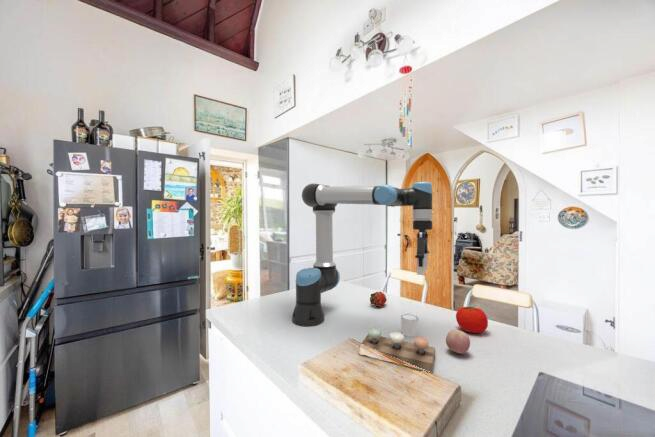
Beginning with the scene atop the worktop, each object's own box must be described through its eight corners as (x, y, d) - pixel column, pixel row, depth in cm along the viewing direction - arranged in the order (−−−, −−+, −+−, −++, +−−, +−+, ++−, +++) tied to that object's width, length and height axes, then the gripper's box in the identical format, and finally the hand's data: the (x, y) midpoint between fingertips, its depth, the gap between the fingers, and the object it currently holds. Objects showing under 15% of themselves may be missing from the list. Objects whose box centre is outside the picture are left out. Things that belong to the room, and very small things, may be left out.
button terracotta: (412, 357, 87) (412, 341, 87) (414, 351, 91) (414, 335, 91) (427, 361, 84) (427, 344, 84) (429, 354, 89) (429, 338, 89)
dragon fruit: (371, 312, 138) (381, 309, 147) (384, 304, 134) (393, 302, 143) (363, 296, 141) (374, 295, 151) (376, 289, 138) (385, 288, 147)
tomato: (485, 328, 114) (486, 304, 114) (489, 339, 103) (489, 313, 103) (455, 323, 119) (455, 300, 119) (456, 333, 108) (456, 308, 108)
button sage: (366, 347, 94) (366, 331, 94) (370, 341, 98) (370, 326, 98) (379, 349, 92) (379, 334, 92) (382, 344, 96) (382, 329, 96)
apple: (469, 361, 87) (469, 337, 87) (444, 355, 92) (444, 332, 92) (470, 351, 94) (470, 329, 94) (447, 345, 98) (447, 324, 98)
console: (358, 354, 92) (358, 346, 92) (368, 341, 102) (368, 333, 102) (432, 373, 81) (432, 363, 81) (435, 356, 91) (435, 347, 91)
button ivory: (388, 352, 90) (388, 336, 90) (391, 346, 94) (391, 331, 94) (402, 355, 88) (402, 339, 88) (404, 349, 92) (404, 333, 92)
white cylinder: (418, 331, 110) (418, 315, 110) (418, 338, 104) (418, 321, 104) (401, 329, 113) (401, 313, 112) (400, 336, 106) (400, 319, 106)
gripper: (430, 220, 95) (430, 278, 95) (434, 219, 117) (434, 267, 117) (408, 220, 98) (408, 276, 98) (416, 219, 120) (416, 265, 121)
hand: (422, 271), depth 108 cm, fingers open, 13 cm apart
